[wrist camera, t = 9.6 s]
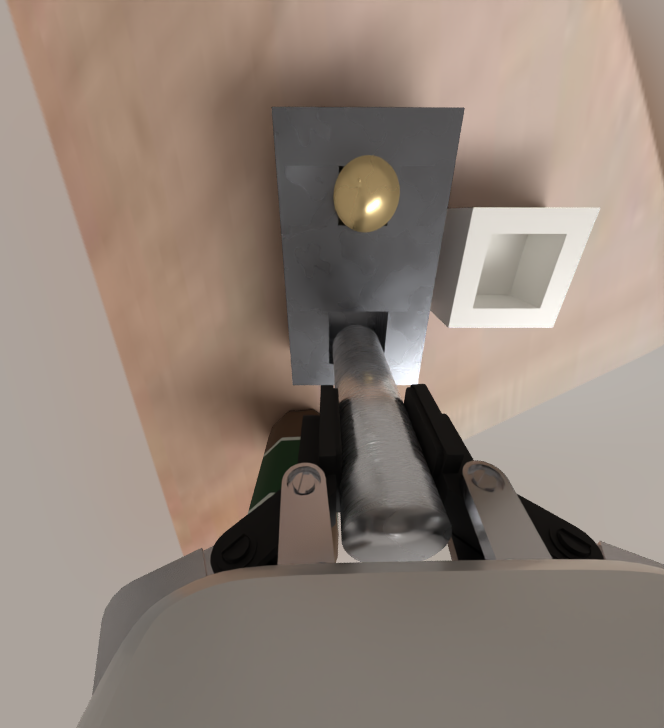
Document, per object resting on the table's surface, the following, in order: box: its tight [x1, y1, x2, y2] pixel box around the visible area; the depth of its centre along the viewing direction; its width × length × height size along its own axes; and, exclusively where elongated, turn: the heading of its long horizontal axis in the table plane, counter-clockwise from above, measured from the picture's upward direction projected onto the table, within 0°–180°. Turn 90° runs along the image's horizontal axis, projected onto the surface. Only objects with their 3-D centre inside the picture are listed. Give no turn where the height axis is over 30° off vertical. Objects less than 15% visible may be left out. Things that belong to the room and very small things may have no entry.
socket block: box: [272, 107, 465, 385], centre depth 21 cm, size 17×10×6 cm, turn 0°
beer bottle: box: [248, 410, 339, 563], centre depth 22 cm, size 8×8×24 cm
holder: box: [430, 207, 600, 328], centre depth 22 cm, size 8×8×5 cm
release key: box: [333, 155, 400, 232], centre depth 18 cm, size 4×4×6 cm
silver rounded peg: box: [333, 325, 452, 562], centre depth 13 cm, size 3×3×12 cm
